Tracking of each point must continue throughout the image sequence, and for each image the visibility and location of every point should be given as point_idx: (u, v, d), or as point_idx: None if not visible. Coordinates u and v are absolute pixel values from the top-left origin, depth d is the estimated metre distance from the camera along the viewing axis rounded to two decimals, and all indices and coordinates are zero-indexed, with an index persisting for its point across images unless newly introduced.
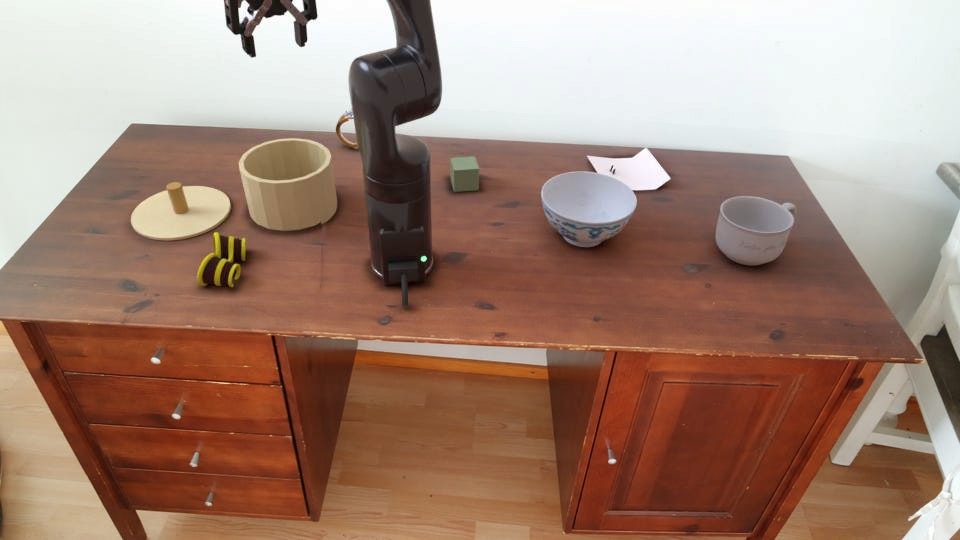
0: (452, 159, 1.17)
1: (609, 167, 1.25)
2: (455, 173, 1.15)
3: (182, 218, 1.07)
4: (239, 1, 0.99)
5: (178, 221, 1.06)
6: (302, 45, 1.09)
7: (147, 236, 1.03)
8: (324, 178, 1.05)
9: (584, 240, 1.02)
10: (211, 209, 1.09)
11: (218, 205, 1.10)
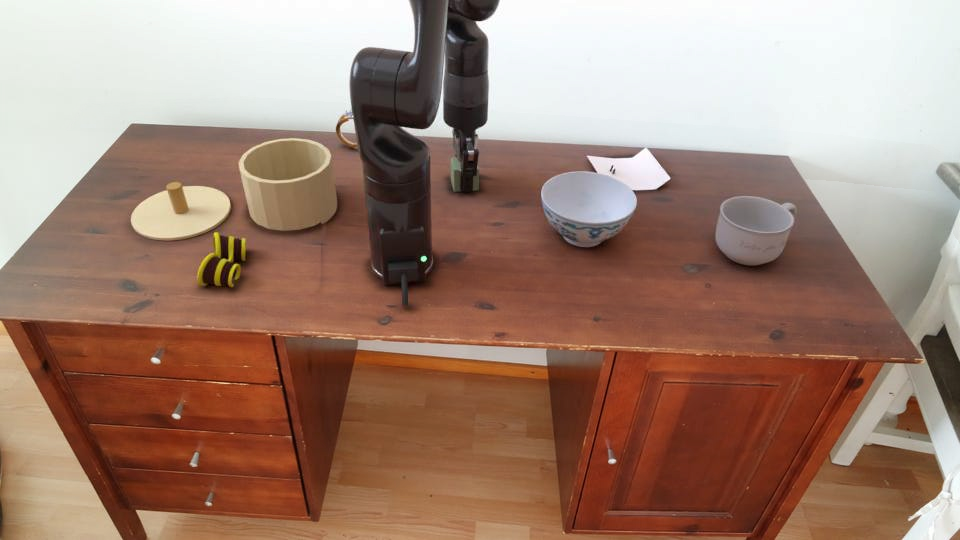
0: (452, 159, 1.17)
1: (609, 167, 1.25)
2: (455, 173, 1.15)
3: (182, 218, 1.07)
4: None
5: (178, 221, 1.06)
6: (460, 189, 1.17)
7: (147, 236, 1.03)
8: (324, 178, 1.05)
9: (584, 240, 1.02)
10: (211, 209, 1.09)
11: (218, 205, 1.10)
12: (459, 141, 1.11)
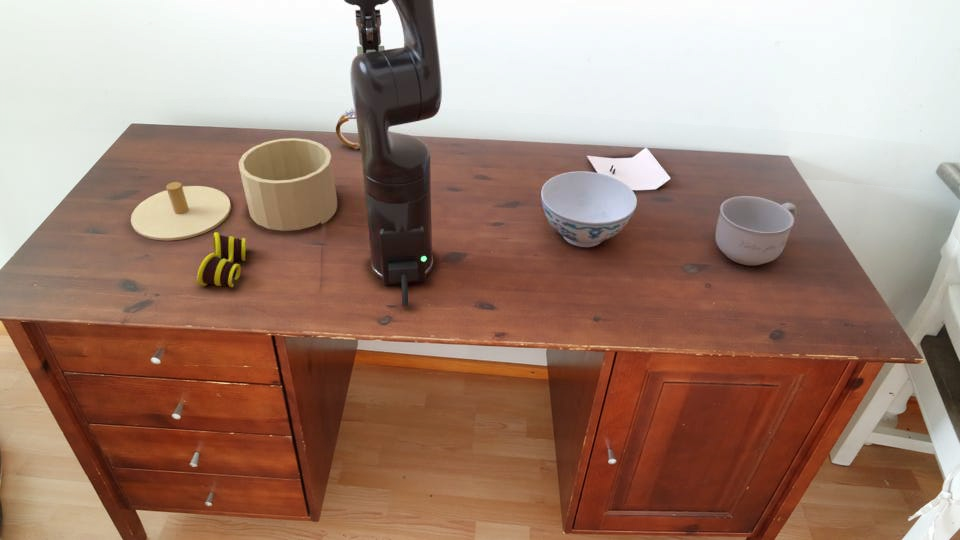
0: (358, 47, 1.09)
1: (609, 167, 1.25)
2: None
3: (182, 218, 1.07)
4: None
5: (178, 221, 1.06)
6: None
7: (147, 236, 1.03)
8: (324, 178, 1.05)
9: (584, 240, 1.02)
10: (211, 209, 1.09)
11: (218, 205, 1.10)
12: (360, 22, 1.03)
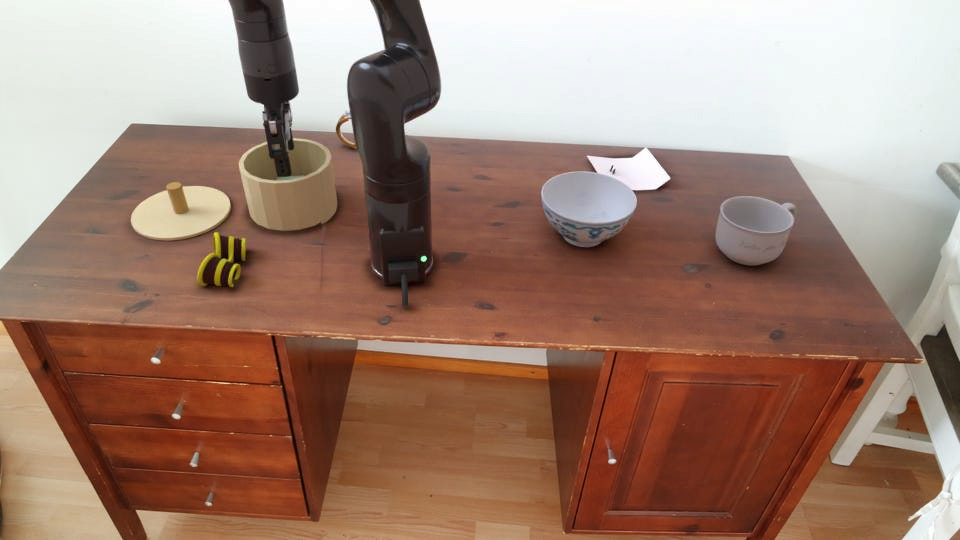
0: (277, 179, 1.10)
1: (609, 167, 1.25)
2: None
3: (182, 218, 1.07)
4: None
5: (178, 221, 1.06)
6: (277, 173, 1.03)
7: (147, 236, 1.03)
8: (324, 178, 1.05)
9: (584, 240, 1.02)
10: (211, 209, 1.09)
11: (218, 205, 1.10)
12: None
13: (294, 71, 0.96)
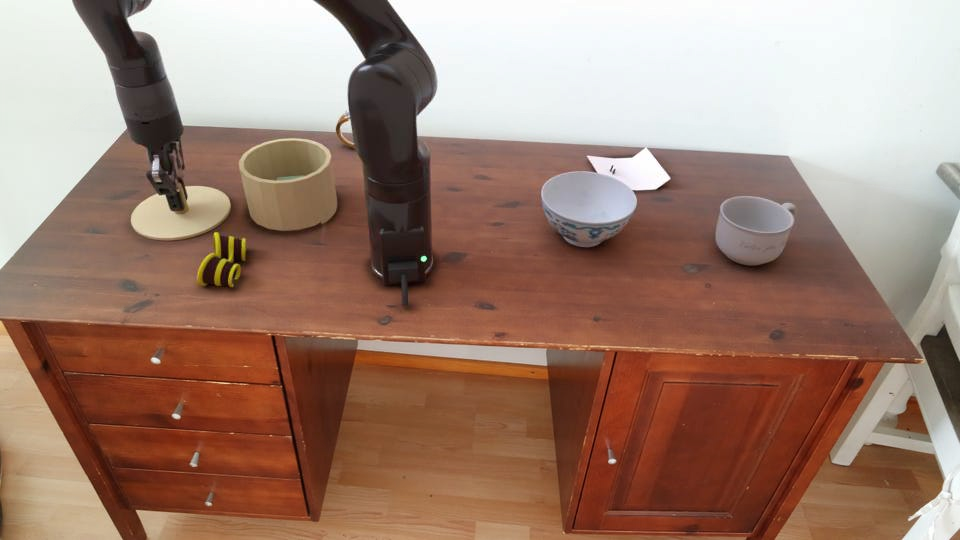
0: (277, 179, 1.10)
1: (609, 167, 1.25)
2: None
3: (182, 218, 1.07)
4: None
5: (178, 221, 1.06)
6: None
7: (147, 236, 1.03)
8: (324, 178, 1.05)
9: (584, 240, 1.02)
10: (211, 209, 1.09)
11: (218, 205, 1.10)
12: None
13: (175, 113, 0.97)
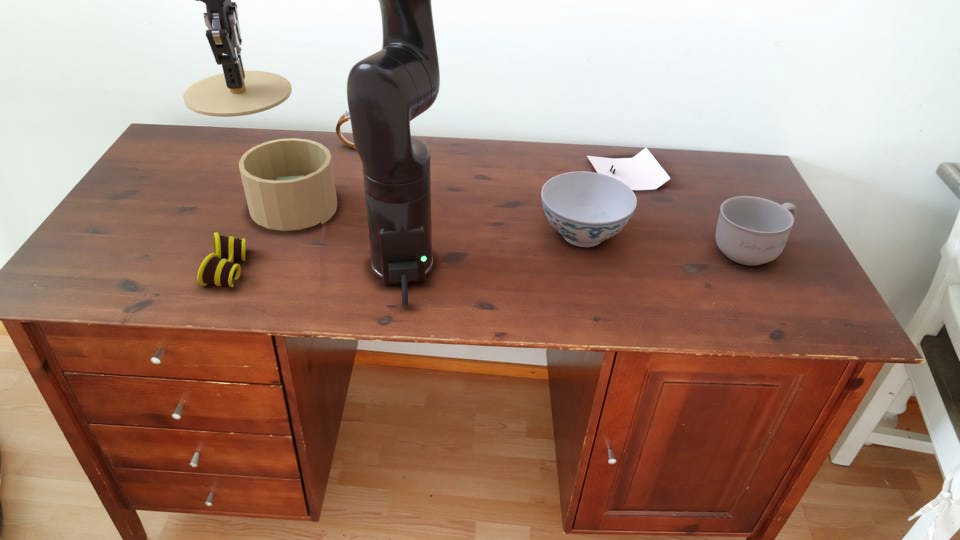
0: (277, 179, 1.10)
1: (609, 167, 1.25)
2: None
3: (240, 97, 0.96)
4: None
5: (236, 99, 0.95)
6: (227, 85, 0.95)
7: (203, 112, 0.92)
8: (324, 178, 1.05)
9: (584, 240, 1.02)
10: (271, 89, 0.98)
11: (278, 86, 0.99)
12: None
13: None
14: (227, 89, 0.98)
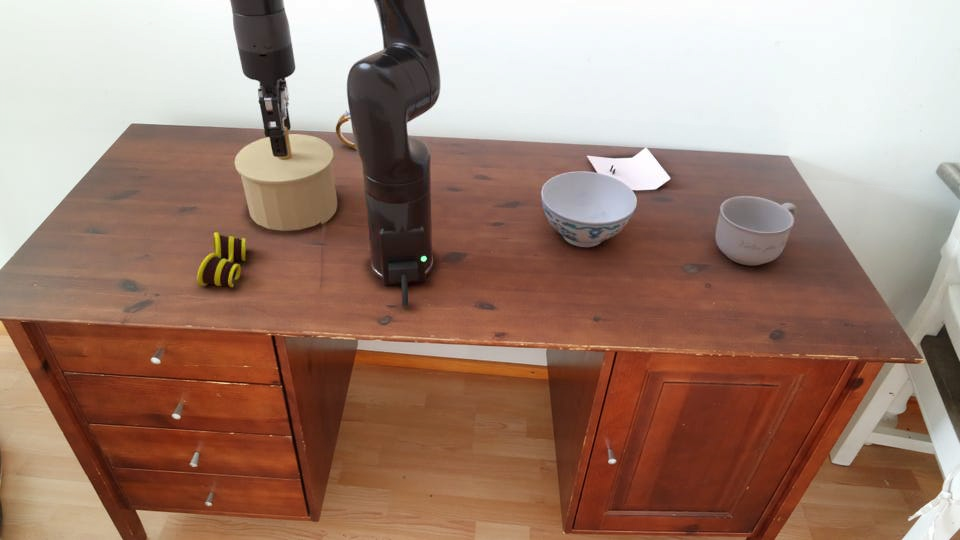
0: None
1: (609, 167, 1.25)
2: None
3: (287, 163, 1.04)
4: None
5: (284, 166, 1.03)
6: (273, 153, 1.00)
7: (255, 180, 1.00)
8: (324, 178, 1.05)
9: (584, 240, 1.02)
10: (315, 155, 1.06)
11: (321, 151, 1.07)
12: (263, 95, 0.97)
13: (290, 47, 0.94)
14: None
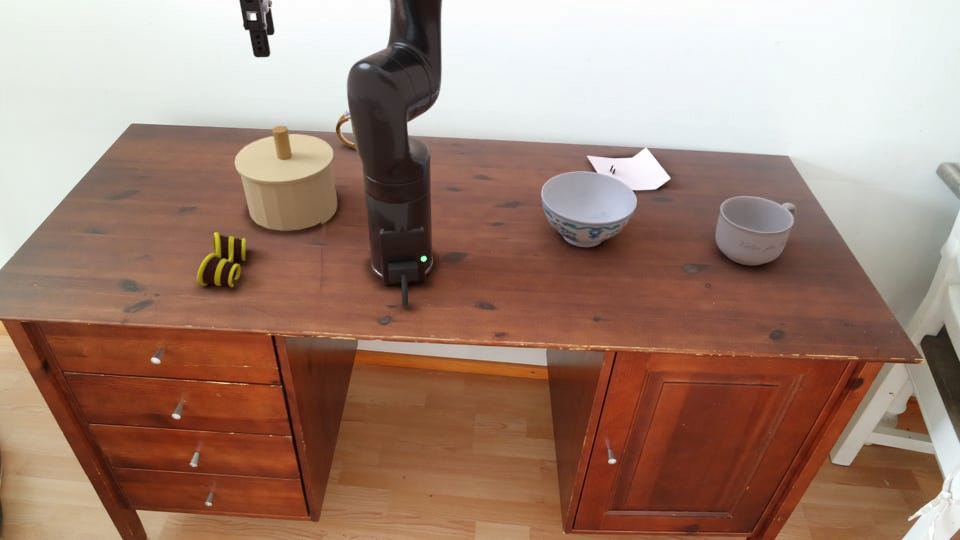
0: None
1: (609, 167, 1.25)
2: None
3: (287, 163, 1.04)
4: None
5: (284, 166, 1.03)
6: None
7: (255, 180, 1.00)
8: (324, 178, 1.05)
9: (584, 240, 1.02)
10: (315, 155, 1.06)
11: (321, 151, 1.07)
12: None
13: None
14: (274, 154, 1.06)
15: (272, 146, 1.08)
